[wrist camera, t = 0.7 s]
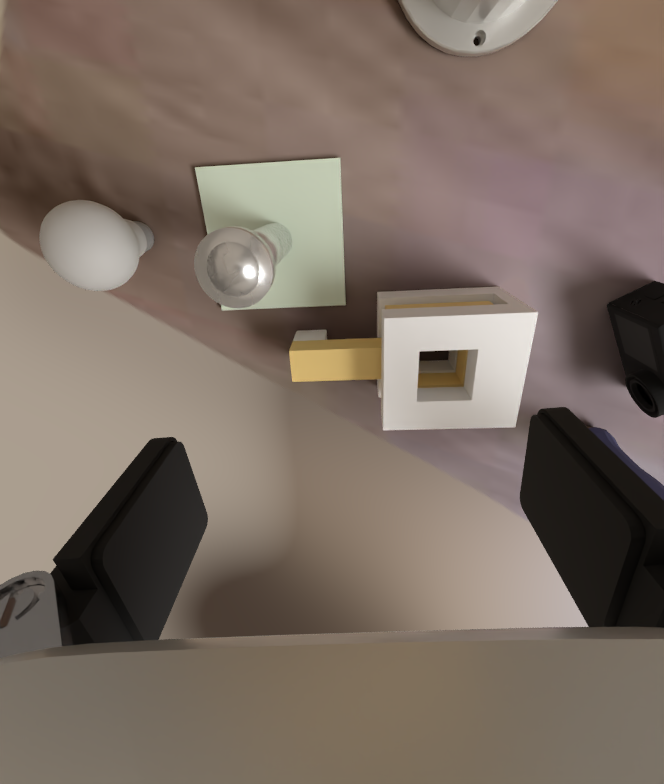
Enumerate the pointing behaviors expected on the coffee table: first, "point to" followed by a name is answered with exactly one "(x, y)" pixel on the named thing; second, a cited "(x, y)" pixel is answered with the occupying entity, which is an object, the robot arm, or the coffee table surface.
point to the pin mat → (285, 223)
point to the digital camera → (642, 344)
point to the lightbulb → (93, 244)
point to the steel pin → (240, 262)
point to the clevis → (440, 377)
